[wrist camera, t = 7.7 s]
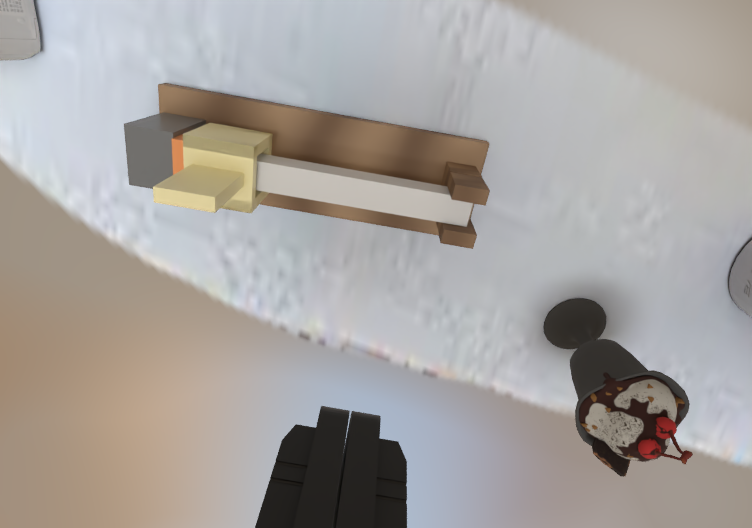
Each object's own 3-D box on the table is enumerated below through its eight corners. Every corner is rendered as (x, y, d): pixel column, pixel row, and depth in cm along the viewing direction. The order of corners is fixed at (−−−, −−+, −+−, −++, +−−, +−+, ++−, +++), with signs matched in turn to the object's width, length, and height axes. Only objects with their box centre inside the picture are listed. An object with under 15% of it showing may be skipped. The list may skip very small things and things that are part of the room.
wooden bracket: (486, 141, 30) (506, 163, 25) (461, 234, 33) (473, 273, 28) (165, 83, 30) (109, 92, 24) (170, 183, 33) (121, 213, 27)
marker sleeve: (272, 133, 28) (225, 166, 21) (269, 193, 30) (224, 243, 23) (210, 122, 28) (140, 151, 21) (210, 183, 30) (146, 230, 22)
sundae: (600, 274, 34) (728, 422, 21) (627, 336, 37) (756, 505, 23) (520, 309, 36) (590, 466, 23) (550, 366, 39) (630, 539, 25)
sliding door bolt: (467, 166, 30) (480, 187, 26) (455, 215, 32) (464, 243, 27) (164, 112, 30) (121, 124, 25) (166, 165, 31) (127, 185, 27)
